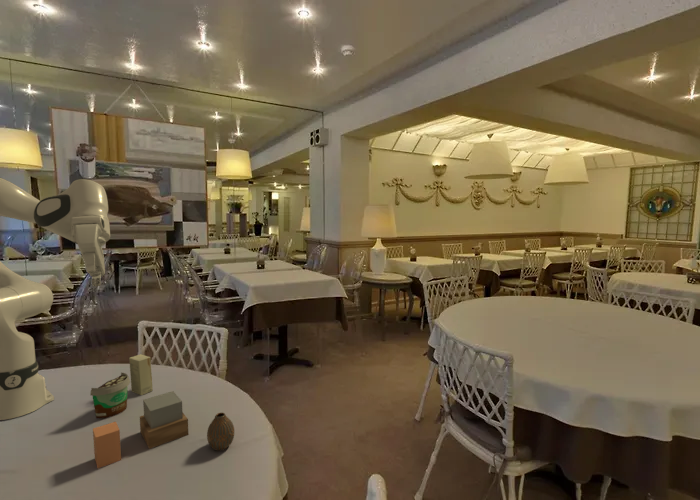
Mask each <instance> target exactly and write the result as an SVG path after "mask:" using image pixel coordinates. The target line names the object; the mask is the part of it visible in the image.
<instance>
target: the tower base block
mask: <svg viewBox="0 0 700 500" xmlns="http://www.w3.org/2000/svg"><path fill="white" fill-rule="evenodd" d="M139 430H140V434H141V436H142V438H143V439H144V442H145V444H146V446H147V448H148V449H149V450H150V449H153V448H156V447H159V446H161V445H164V444H167V443H169V442H172V441H175V440H177V439H180V438H183V437H186V436H188V435H189V418H188V417H187V416H186V415H185V413H184V412H183V418H182V419H180V420H177V421H174V422H171V423H168V424H165V425H162V426H159V427H156V428H153V429H151V427H150V426H149V424H148V422H147V421H146V419H145V417H144V414H143V415H139Z"/></svg>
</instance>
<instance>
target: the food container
mask: <svg viewBox="0 0 700 500" xmlns="http://www.w3.org/2000/svg"><path fill="white" fill-rule="evenodd" d="M129 385H131V378H130V376H128V374H127V373H126V372H121V373H120V375H119V376H117V377H115V378H114V379H110V380H108V381H106V382H104V383H103V384H102V385H100V386H99V387H91V390H90V396H92V400H93V401H92V402H93V406H94V408H93V409H94V413H95V418H96V419H107V418H108V419H109V418H112V417H114V416H118V415H120V414H122V413H123V412H125V411H126V410H127V408H128V387H129Z"/></svg>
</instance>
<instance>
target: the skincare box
mask: <svg viewBox="0 0 700 500" xmlns="http://www.w3.org/2000/svg"><path fill="white" fill-rule="evenodd" d="M128 360H129V361H128V362H129V372H130V375H129V376H130V389H131V392H133V393H134V394H137V395H138V396H143V395H146V394H149V393H150V392H152V391H153V376H152V375H153V374H152V361H151V357H150V356H148V355H145V354H141V353H140V354H137V355H134V356H131V357H129V359H128Z"/></svg>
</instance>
